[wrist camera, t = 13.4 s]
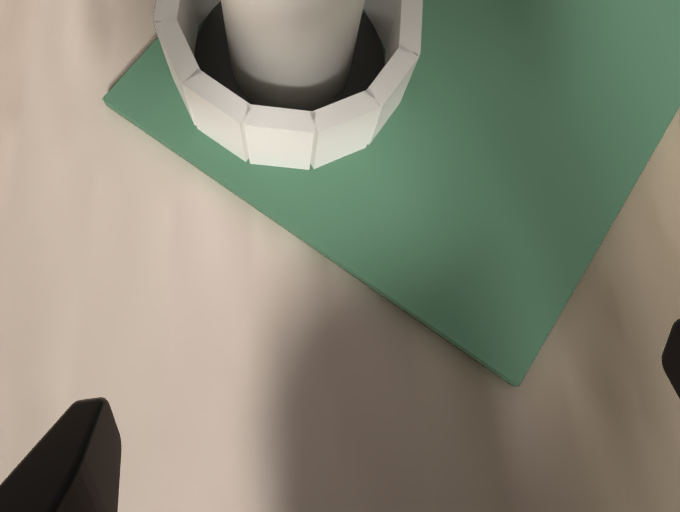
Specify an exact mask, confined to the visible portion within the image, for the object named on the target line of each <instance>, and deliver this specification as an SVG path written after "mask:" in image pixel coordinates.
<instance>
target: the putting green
mask: <svg viewBox="0 0 680 512" xmlns="http://www.w3.org/2000/svg"><path fill="white" fill-rule="evenodd" d="M153 21H154V26H155V29H156V32H157V35H158V37H157V39H156V40H155V41H154V42H153V43H152V44H151V45H150V46H149V47H148V49H147V50H146V51H145V52H144V53H143V54H142V55H141V56H140V57H139V59H138V60H137V61H136V62H135V63H134V64H133V65H132V66H131V67H130V68H129V70H128V71H127V72H126V73H125V74H124V75H123V76H122V77H121V78H120V80H119V81H118V82H117V83H116V84H115V85H114V86H113V87H112V88H111V89H110V91H109V92H108V93H107V94H106V95H105V96H104V97H103V98H102V99H103V100H104V102H105V104H106V105H107V106H108V107H109V108H111V109H112V110H114V111H115V112H117V113H118V114H120V115H121V116H123V117H124V118H125V119H127V120H128V121H130V122H131V123H133V124H134V125H136V126H137V127H138V128H140V129H141V130H143V131H144V132H146V133H147V134H149V135H150V136H152V137H153V138H154V139H156V140H157V141H159V142H160V143H162V144H163V145H165V146H166V147H167V148H169V149H170V150H172V151H173V152H175V153H176V154H178V155H179V156H180V157H182V158H183V159H185V160H186V161H188V162H189V163H191V164H192V165H194V166H195V167H196V168H198V169H199V170H201V171H202V172H204V173H205V174H207V175H208V176H209V177H211V178H212V179H214V180H215V181H217V182H218V183H220V184H221V185H223V186H224V187H225V188H227V189H228V190H230V191H231V192H233V193H234V194H236V195H237V196H238V197H240V198H241V199H243V200H244V201H246V202H247V203H249V204H250V205H252V206H253V207H254V208H256V209H257V210H259V211H260V212H262V213H263V214H265V215H266V216H267V217H269V218H270V219H272V220H273V221H275V222H276V223H278V224H279V225H280V226H282V227H283V228H285V229H286V230H288V231H289V232H291V233H292V234H294V235H295V236H296V237H298V238H299V239H301V240H302V241H304V242H305V243H307V244H308V245H309V246H311V247H312V248H314V249H315V250H317V251H318V252H320V253H321V254H323V255H324V256H325V257H327V258H328V259H330V260H331V261H333V262H334V263H336V264H337V265H338V266H340V267H341V268H343V269H344V270H346V271H347V272H349V273H350V274H352V275H353V276H354V277H356V278H357V279H359V280H360V281H362V282H363V283H365V284H366V285H367V286H369V287H370V288H372V289H373V290H375V291H376V292H378V293H379V294H380V295H382V296H383V297H385V298H386V299H388V300H389V301H391V302H392V303H394V304H395V305H396V306H398V307H399V308H401V309H402V310H404V311H405V312H407V313H408V314H409V315H411V316H412V317H414V318H415V319H417V320H418V321H420V322H421V323H423V324H424V325H425V326H427V327H428V328H430V329H431V330H433V331H434V332H436V333H437V334H438V335H440V336H441V337H443V338H444V339H446V340H447V341H449V342H450V343H452V344H453V345H454V346H456V347H457V348H459V349H460V350H462V351H463V352H465V353H466V354H467V355H469V356H470V357H472V358H473V359H475V360H476V361H478V362H479V363H480V364H482V365H483V366H485V367H486V368H488V369H489V370H491V371H492V372H494V373H495V374H496V375H498V376H499V377H501V378H502V379H504V380H505V381H507V382H508V383H509V384H511V385H512V386H519V385H520V383H521V382H522V380H523V378H524V376H525V375H526V373H527V371H528V369H529V368H530V366H531V364H532V363H533V361H534V359H535V357H536V356H537V354H538V352H539V350H540V349H541V347H542V345H543V343H544V342H545V340H546V338H547V336H548V335H549V333H550V331H551V329H552V328H553V326H554V324H555V322H556V321H557V319H558V317H559V316H560V314H561V312H562V310H563V309H564V307H565V305H566V303H567V302H568V300H569V298H570V296H571V295H572V293H573V291H574V289H575V288H576V286H577V284H578V282H579V281H580V279H581V277H582V275H583V274H584V272H585V270H586V268H587V267H588V265H589V263H590V262H591V260H592V258H593V256H594V255H595V253H596V251H597V249H598V248H599V246H600V244H601V242H602V241H603V239H604V237H605V235H606V234H607V232H608V230H609V228H610V227H611V225H612V223H613V221H614V220H615V218H616V216H617V215H618V213H619V211H620V209H621V208H622V206H623V204H624V202H625V201H626V199H627V197H628V195H629V194H630V192H631V190H632V188H633V187H634V185H635V183H636V181H637V180H638V178H639V176H640V174H641V173H642V171H643V169H644V168H645V166H646V164H647V162H648V161H649V159H650V157H651V155H652V154H653V152H654V150H655V148H656V147H657V145H658V143H659V141H660V140H661V138H662V136H663V134H664V133H665V131H666V129H667V127H668V126H669V124H670V122H671V120H672V119H673V117H674V115H675V114H676V112H677V110H678V108H679V107H680V0H365V1H364V6H363V11H362V15H361V20H360V25H359V29H358V34H357V39H356V44H355V48H354V53H353V58H352V63H351V67H350V72H349V76H348V79H347V82H346V84H345V86H344V88H343V90H342V91H341V93H340V94H339V95H338V96H337V98H336V99H335V100H333V101H332V102H331V103H330V104H329V105H327V106H325V107H322V108H319V109H317V110H314V111H305V110H296V109H288V108H279V107H270V106H261V105H256V104H255V103H254V102H252V101H251V100H250V99H249V98H248V97H247V96H246V95H245V94H244V93H243V92H242V90H241V89H240V88H239V86H238V84H237V82H236V80H235V78H234V75H233V72H232V67H231V61H230V55H229V49H228V42H227V36H226V30H225V24H224V17H223V11H222V5H221V0H156V5H155V11H154V17H153Z"/></svg>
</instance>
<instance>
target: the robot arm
mask: <svg viewBox="0 0 680 512" xmlns="http://www.w3.org/2000/svg"><path fill="white" fill-rule="evenodd" d="M662 365H663V369H664V371H665V373H666V375H667V377H668V378H669V380H670V382H671V384H672V386H673V387H674V389H675V391H676V393H677V395H678V396H679V398H680V319H678V320H677V321H676V322H675V323H674V324H673V326H672V329H671V332H670V335H669V337H668V340H667V343H666V346H665V348H664V351H663V354H662ZM120 464H121V438H120V434H119V431H118V428H117V425H116V422H115V419H114V416H113V413H112V410H111V407H110V405H109V402H108V401H107V400H106V399H105V398H102V397H99V398H91V399H84V400H79V401H76V402H75V403H73V404H72V405H71V406H70V407H69V408H68V410H67V411H66V412H65V413H64V414H63V415H62V416H61V417H60V418H59V420H58V421H57V422H56V423H55V424H54V425H53V426H52V427H51V429H50V430H49V431H48V432H47V433H46V434H45V435H44V436H43V438H42V439H41V440H40V441H39V442H38V443H37V444H36V445H35V447H34V448H33V449H32V450H31V451H30V452H29V453H28V454H27V456H26V457H25V458H24V459H23V460H22V461H21V462H20V463H19V464H18V466H17V467H16V468H15V469H14V470H13V471H12V472H11V473H10V475H9V476H8V477H7V478H6V479H5V480H4V481H3V482H2V484H1V485H0V512H117V509H118V494H119V479H120Z"/></svg>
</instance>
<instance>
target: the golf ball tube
mask: <svg viewBox="0 0 680 512" xmlns="http://www.w3.org/2000/svg"><path fill="white" fill-rule="evenodd" d="M364 1H365V0H221V5H222V11H223V17H224V24H225V30H226V36H227V42H228V49H229V55H230V61H231V67H232V72H233V75H234V78H235V80H236V82H237V84H238V86H239V88H240V89H241V90H242V92H243V93H244V94H245V95H246V96H247V97H248V98H249V99H250V100H251V101H252V102H254V103H255V104H256V105H261V106H270V107H279V108H288V109H296V110H305V111H314V110H317V109H319V108H322V107H325V106H327V105H329V104H330V103H331V102H332V101H333V100H335V99H336V98H337V96H338V95H339V94H340V93H341V91H342V90H343V88H344V86H345V84H346V82H347V79H348V76H349V72H350V67H351V63H352V58H353V53H354V48H355V44H356V39H357V34H358V29H359V25H360V20H361V15H362V11H363V6H364Z"/></svg>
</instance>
